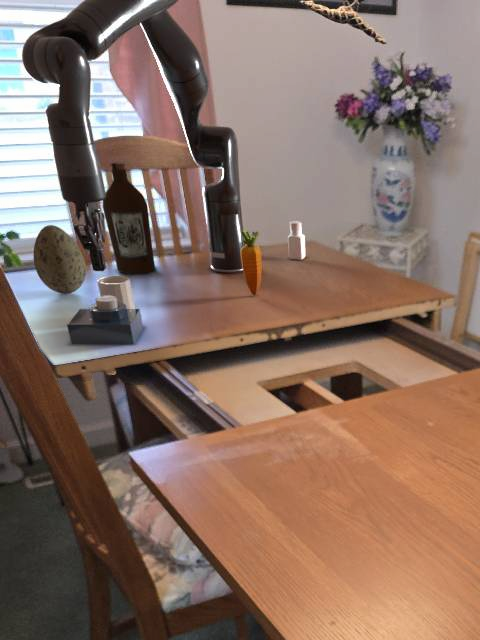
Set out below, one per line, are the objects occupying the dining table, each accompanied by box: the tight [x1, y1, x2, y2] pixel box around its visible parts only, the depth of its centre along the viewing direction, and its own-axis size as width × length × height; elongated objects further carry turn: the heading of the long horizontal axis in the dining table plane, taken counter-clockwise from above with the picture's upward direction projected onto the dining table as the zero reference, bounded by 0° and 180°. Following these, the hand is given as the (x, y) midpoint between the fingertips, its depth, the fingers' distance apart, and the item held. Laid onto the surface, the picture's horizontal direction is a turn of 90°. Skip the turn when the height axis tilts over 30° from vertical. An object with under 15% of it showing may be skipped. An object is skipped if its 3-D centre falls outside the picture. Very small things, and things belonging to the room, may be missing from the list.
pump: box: [94, 296, 118, 310], centre depth 141 cm, size 4×4×2 cm
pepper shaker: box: [287, 220, 306, 261], centre depth 198 cm, size 4×4×10 cm
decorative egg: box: [33, 224, 87, 295], centre depth 163 cm, size 11×11×15 cm
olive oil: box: [102, 161, 156, 275], centre depth 179 cm, size 11×11×25 cm
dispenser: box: [66, 302, 144, 345], centre depth 143 cm, size 12×10×6 cm
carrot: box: [240, 229, 263, 297], centre depth 166 cm, size 5×5×15 cm
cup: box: [97, 275, 136, 309], centre depth 152 cm, size 6×6×8 cm
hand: (99, 270), depth 138 cm, fingers closed
